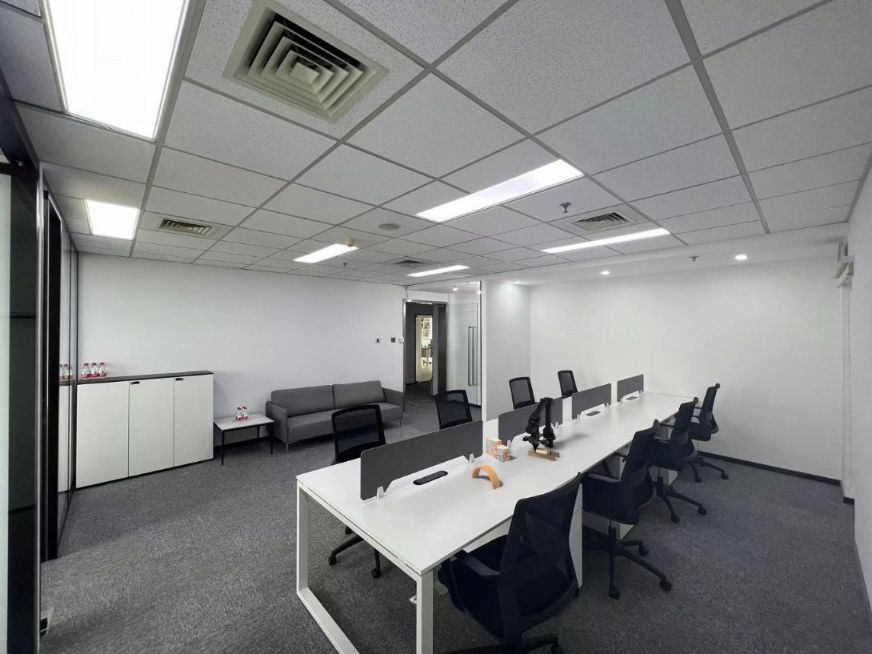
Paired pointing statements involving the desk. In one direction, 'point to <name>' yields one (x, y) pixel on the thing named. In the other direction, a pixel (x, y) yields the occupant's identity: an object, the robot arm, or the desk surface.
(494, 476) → the arch
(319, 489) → the desk surface
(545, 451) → the block
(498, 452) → the stack of blocks
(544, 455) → the walnut chute
